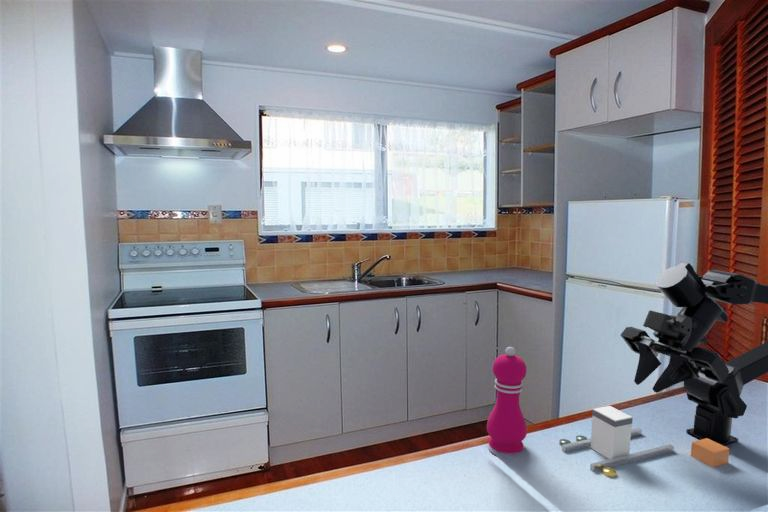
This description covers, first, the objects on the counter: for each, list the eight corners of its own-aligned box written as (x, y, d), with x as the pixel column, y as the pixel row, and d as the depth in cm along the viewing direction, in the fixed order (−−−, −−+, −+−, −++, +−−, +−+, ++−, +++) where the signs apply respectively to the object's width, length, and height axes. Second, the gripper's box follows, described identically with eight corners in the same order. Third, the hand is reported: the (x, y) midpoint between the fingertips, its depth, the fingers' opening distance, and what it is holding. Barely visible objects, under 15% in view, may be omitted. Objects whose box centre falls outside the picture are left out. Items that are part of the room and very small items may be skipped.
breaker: (606, 443, 92) (609, 405, 91) (629, 457, 87) (632, 417, 87) (590, 447, 91) (592, 408, 90) (612, 461, 86) (615, 420, 85)
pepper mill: (527, 463, 87) (533, 354, 85) (485, 458, 89) (490, 351, 86) (524, 443, 94) (529, 342, 92) (485, 439, 96) (489, 339, 93)
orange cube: (705, 458, 90) (707, 438, 90) (727, 470, 86) (729, 448, 86) (689, 462, 89) (691, 441, 88) (711, 474, 85) (714, 452, 84)
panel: (626, 430, 100) (627, 420, 100) (691, 466, 87) (692, 454, 87) (547, 448, 93) (547, 437, 92) (605, 489, 80) (606, 477, 80)
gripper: (630, 287, 99) (584, 345, 96) (724, 306, 82) (671, 378, 79) (655, 321, 103) (612, 379, 100) (750, 347, 86) (700, 417, 83)
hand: (644, 387), depth 91 cm, fingers open, 4 cm apart
